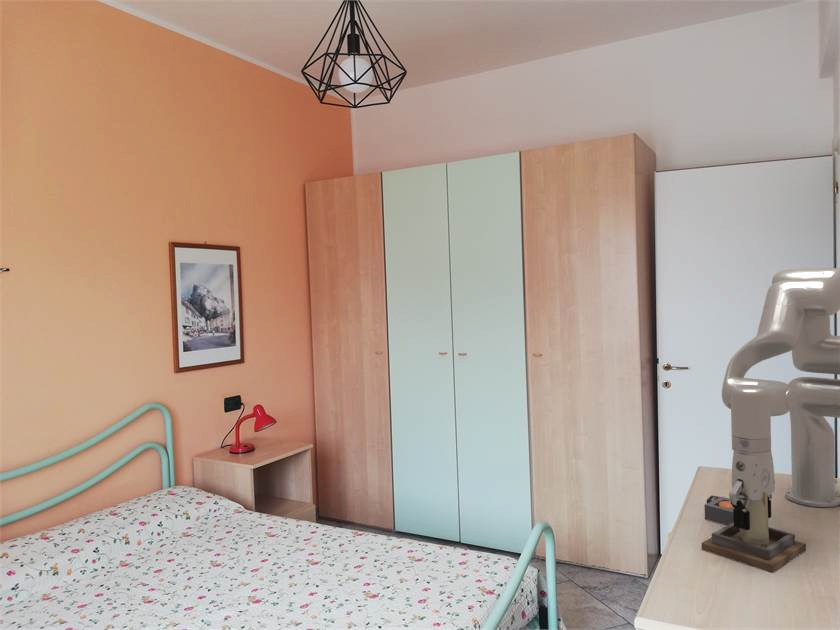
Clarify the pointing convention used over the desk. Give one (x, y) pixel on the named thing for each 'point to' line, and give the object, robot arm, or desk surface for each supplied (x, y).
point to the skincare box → (757, 523)
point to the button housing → (719, 512)
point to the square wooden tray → (755, 548)
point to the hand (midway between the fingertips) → (752, 522)
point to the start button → (726, 504)
